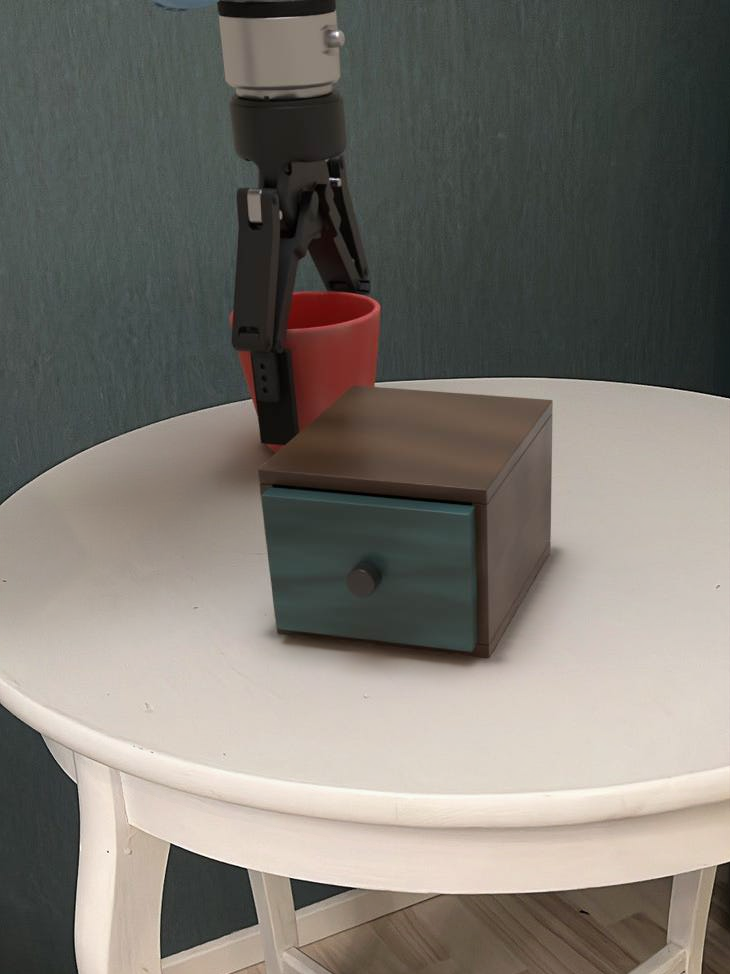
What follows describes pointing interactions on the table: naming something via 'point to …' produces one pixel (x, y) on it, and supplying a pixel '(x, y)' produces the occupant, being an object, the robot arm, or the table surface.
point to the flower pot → (326, 349)
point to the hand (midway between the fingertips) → (315, 412)
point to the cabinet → (440, 477)
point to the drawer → (373, 566)
